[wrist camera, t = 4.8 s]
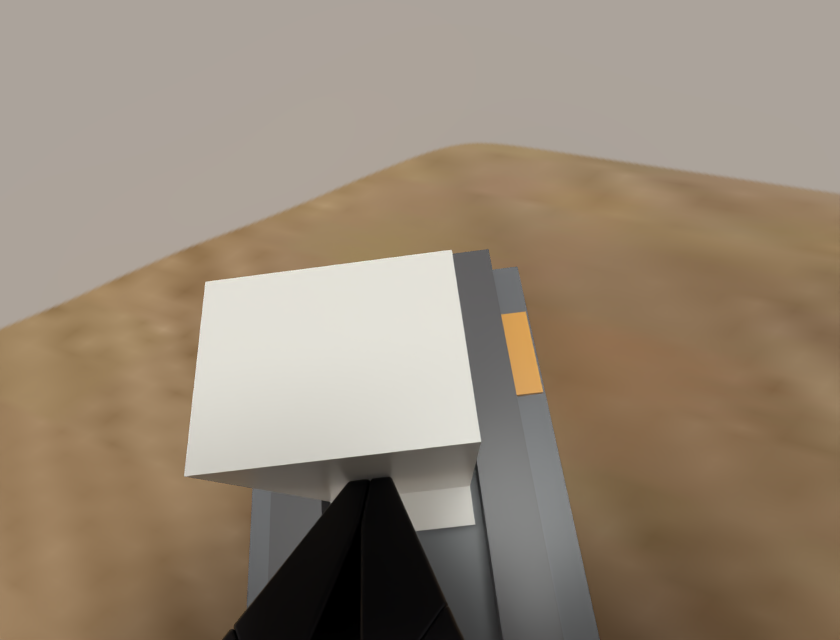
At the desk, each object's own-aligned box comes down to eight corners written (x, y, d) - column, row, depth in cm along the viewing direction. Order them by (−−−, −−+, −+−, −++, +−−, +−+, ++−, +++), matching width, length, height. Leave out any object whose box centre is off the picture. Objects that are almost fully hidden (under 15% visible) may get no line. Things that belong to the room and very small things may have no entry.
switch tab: (473, 524, 14) (493, 524, 6) (343, 538, 14) (175, 560, 6) (452, 367, 16) (443, 199, 8) (338, 381, 16) (211, 231, 8)
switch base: (618, 795, 13) (670, 887, 9) (265, 827, 13) (201, 926, 10) (511, 291, 19) (521, 244, 16) (280, 320, 20) (245, 280, 16)
